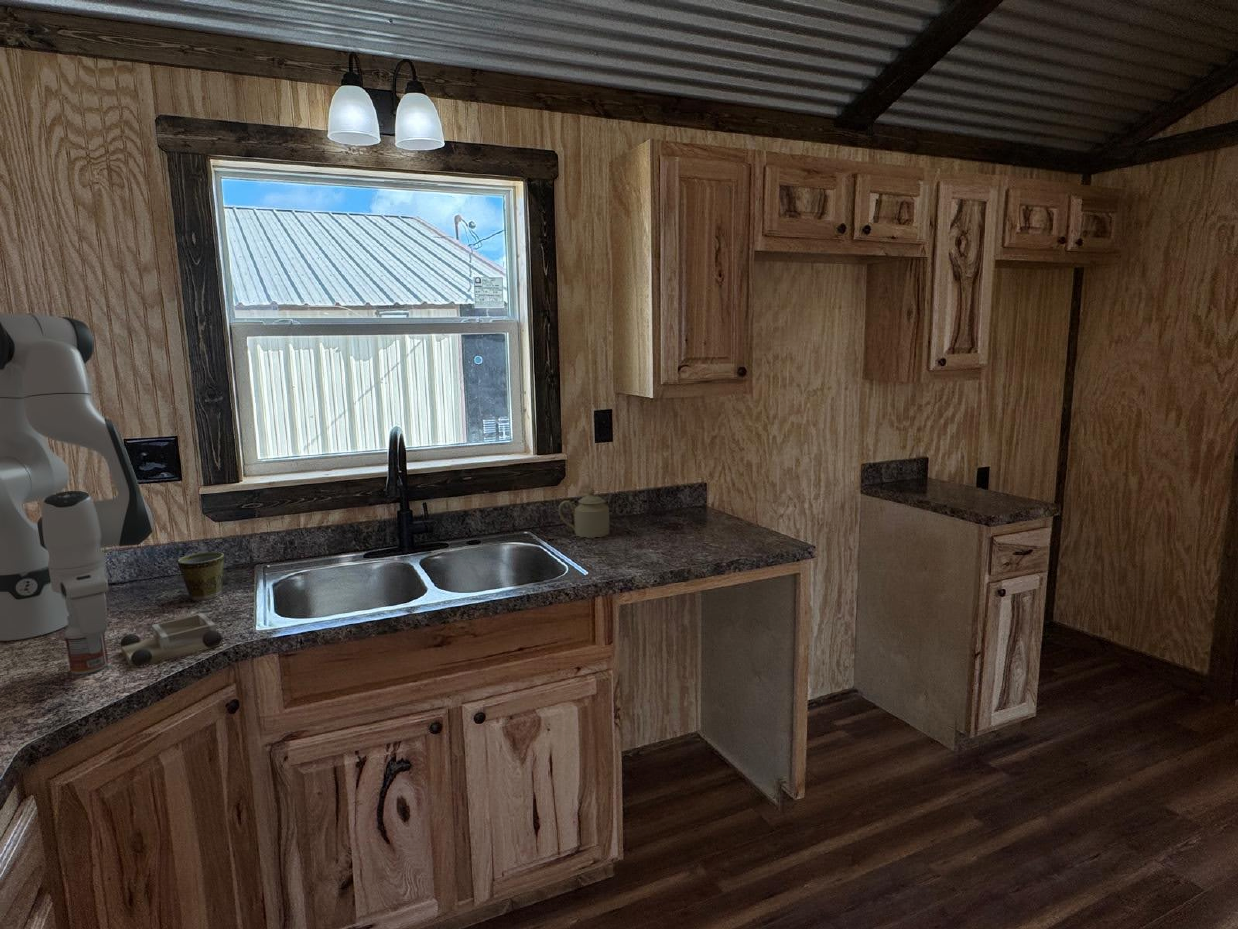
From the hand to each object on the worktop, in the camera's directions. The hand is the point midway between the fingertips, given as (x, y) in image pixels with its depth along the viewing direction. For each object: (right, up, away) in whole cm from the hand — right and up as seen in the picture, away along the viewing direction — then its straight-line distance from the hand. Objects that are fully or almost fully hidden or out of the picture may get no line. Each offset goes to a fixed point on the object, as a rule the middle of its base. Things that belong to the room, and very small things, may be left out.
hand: (90, 645), depth 146 cm
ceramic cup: (-2, +2, +42) cm, 43 cm away
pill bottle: (0, -5, +1) cm, 5 cm away
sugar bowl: (+92, +13, +91) cm, 131 cm away
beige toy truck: (+11, -3, +9) cm, 14 cm away
